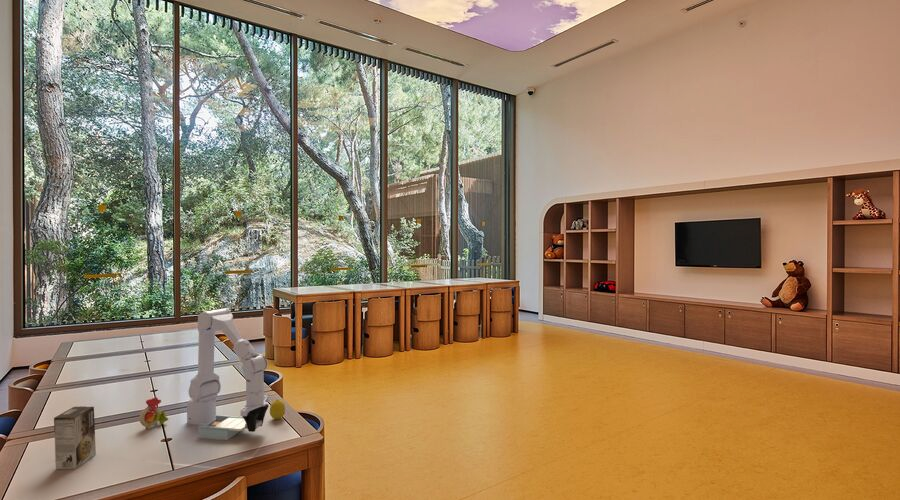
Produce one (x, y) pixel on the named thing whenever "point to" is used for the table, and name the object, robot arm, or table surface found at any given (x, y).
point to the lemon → (277, 409)
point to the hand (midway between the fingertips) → (255, 428)
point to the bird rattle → (152, 414)
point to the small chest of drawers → (236, 424)
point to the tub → (216, 429)
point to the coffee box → (74, 437)
